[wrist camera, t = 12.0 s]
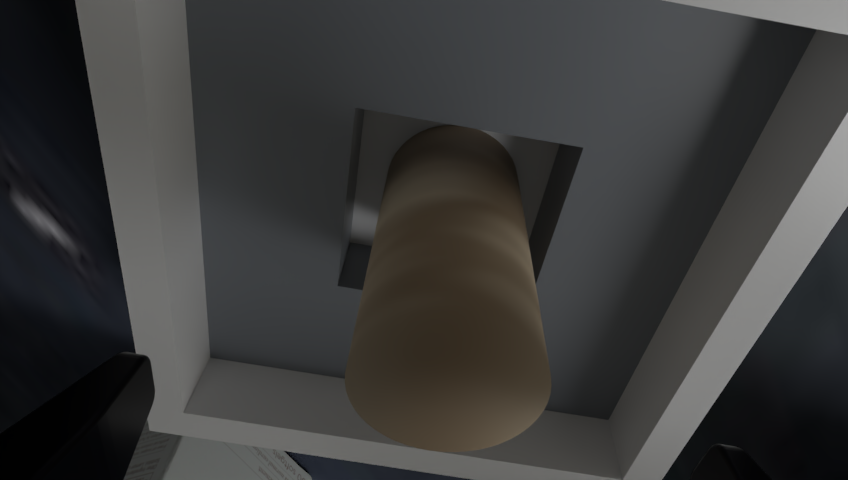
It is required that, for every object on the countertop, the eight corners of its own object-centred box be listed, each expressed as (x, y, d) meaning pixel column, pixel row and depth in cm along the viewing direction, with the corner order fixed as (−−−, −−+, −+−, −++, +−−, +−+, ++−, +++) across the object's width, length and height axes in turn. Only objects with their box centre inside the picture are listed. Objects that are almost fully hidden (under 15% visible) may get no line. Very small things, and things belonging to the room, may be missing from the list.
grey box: (827, -63, 13) (995, -13, 9) (609, 372, 21) (644, 505, 17) (184, -188, 12) (41, -197, 8) (213, 309, 20) (149, 430, 16)
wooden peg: (533, 137, 15) (578, 329, 9) (500, 248, 17) (521, 463, 11) (395, 113, 15) (354, 294, 9) (379, 228, 17) (337, 437, 11)
